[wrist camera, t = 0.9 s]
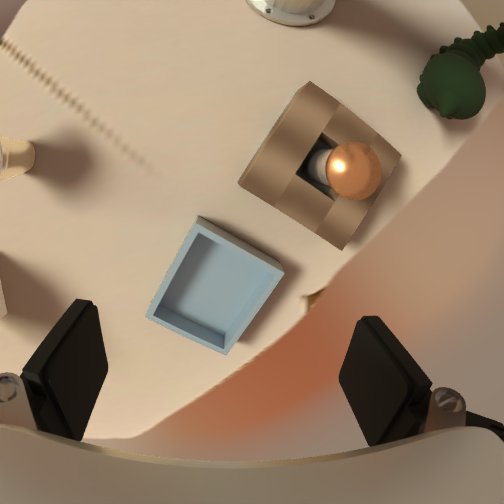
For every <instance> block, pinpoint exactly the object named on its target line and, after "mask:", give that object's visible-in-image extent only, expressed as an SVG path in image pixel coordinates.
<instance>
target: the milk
mask: <svg viewBox="0 0 504 504" xmlns="http://www.w3.org/2000/svg"><path fill="white" fill-rule="evenodd" d="M6 314H7V309H6V304H5V300H4V295H3V290H2V285H1V279H0V319H1V318H2V317H3V316H4V315H6Z"/></svg>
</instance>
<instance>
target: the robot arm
mask: <svg viewBox="0 0 504 504" xmlns="http://www.w3.org/2000/svg"><path fill="white" fill-rule="evenodd" d="M246 1H247V3H248V4H249V5H250V6H251V8H252V9H253V10H255V11H256V12H257V13H258V14H260V15H262V16H263V17H265V18H267V19H269V20H272V21H274V22H277V23H281V24H284V25H292V26H305V25H311V24H314V23H317V22H319V21H321V20H323V19H324V18H325V17H327V16H328V15H329V14H330V12H331V11H332V10H333V8H334V5H335V0H246ZM269 13H270V14H269ZM22 371H23V372H22V374H21V375H20V377H19V376H18V375H16V374H14V373H8V372H6V373H1V374H0V504H504V425H503V424H502V423H500V422H497V421H495V420H492V419H489V418H486V417H483V416H480V415H477V414H474V413H472V412H469V411H466V403H465V400H464V398H463V397H462V396H461V395H460V393H458V392H457V391H455V390H453V389H451V388H446V387H439V388H437V389H435V390H434V391H433V392H432V391H431V390H430V387H431V386H432V382H431V381H430V379H429V378H428V377H427V375H426V374H425V373H424V372H423V370H422V369H421V368H420V366H419V365H418V364H417V363H416V361H415V360H414V359H413V358H412V356H411V355H410V354H409V353H408V351H407V350H406V349H405V348H404V347H403V345H402V344H401V343H400V342H399V340H398V339H397V338H396V337H395V335H394V334H393V333H392V332H391V331H390V329H389V328H388V327H387V326H386V325H385V323H384V322H383V321H382V320H381V319H380V317H378V316H363V317H362V318H361V320H358V322H357V323H356V326H355V330H354V333H353V336H352V339H351V342H350V345H349V348H348V351H347V354H346V356H345V359H344V362H343V365H342V367H341V370H340V373H339V382H340V385H341V387H342V389H343V391H344V393H345V395H346V398H347V399H348V402H349V404H350V406H351V408H352V411H353V413H354V415H355V417H356V419H357V421H358V424H359V426H360V428H361V430H362V432H363V435H364V437H365V439H366V441H367V443H368V445H369V446H370V447H368V448H363V449H358V450H353V451H348V452H342V453H336V454H330V455H323V456H316V457H307V458H297V459H286V460H271V461H244V462H233V461H201V460H186V459H174V458H165V457H157V456H149V455H143V454H136V453H131V452H125V451H120V450H115V449H110V448H105V447H100V446H96V445H92V444H87V443H83V442H79V441H81V440H82V438H83V435H84V432H85V429H86V427H87V424H88V421H89V418H90V416H91V413H92V410H93V408H94V405H95V403H96V400H97V397H98V395H99V392H100V390H101V387H102V385H103V382H104V380H105V378H106V375H107V372H108V361H107V357H106V352H105V347H104V342H103V337H102V332H101V326H100V321H99V314H98V309H97V306H96V305H93V303H92V301H90V300H82V299H76V300H75V301H74V302H73V303H72V305H71V306H70V307H69V308H68V309H67V311H66V312H65V313H64V314H63V316H62V317H61V318H60V319H59V321H58V322H57V323H56V324H55V326H54V327H53V328H52V330H51V331H50V332H49V333H48V335H47V336H46V337H45V339H44V340H43V341H42V343H41V344H40V345H39V347H38V348H37V350H36V351H35V352H34V354H33V355H32V356H31V358H30V359H29V361H28V362H27V364H26V365H25V366H24V368H23V369H22Z"/></svg>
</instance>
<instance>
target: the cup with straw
mask: <svg viewBox="0 0 504 504" xmlns="http://www.w3.org/2000/svg"><path fill="white" fill-rule="evenodd" d="M34 161H35V149H34V147H33V145H32V144H31V143H30V142H27V141H22V140H17V139H12V138H6V137H2V136H0V182H3V181H5V180H7V179H10V178H12V177H15V176H17V175H20V174H22V173H25V172H27V171H29V170H30V169H31V168H32V166H33V164H34Z"/></svg>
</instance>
